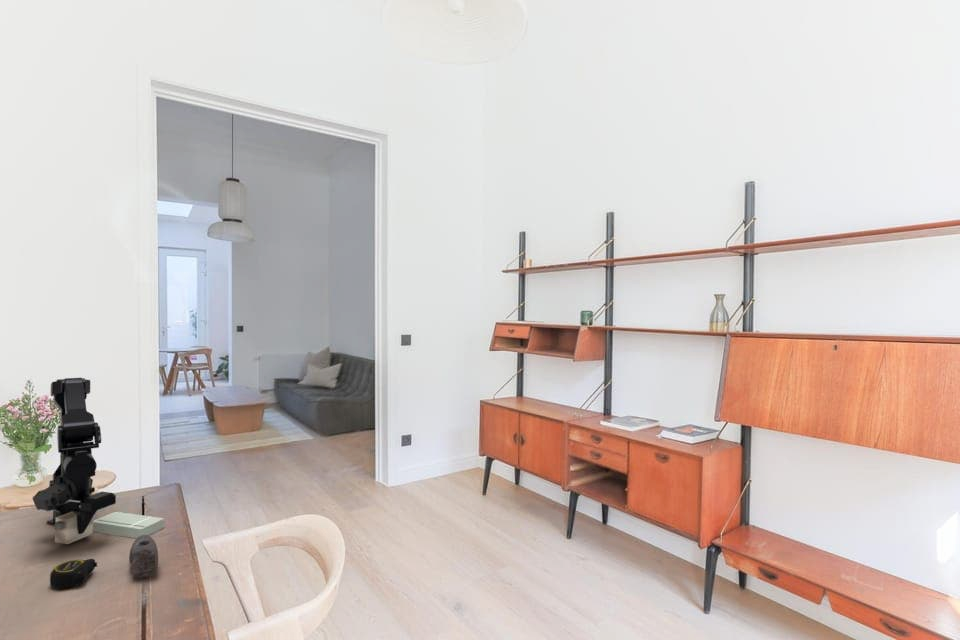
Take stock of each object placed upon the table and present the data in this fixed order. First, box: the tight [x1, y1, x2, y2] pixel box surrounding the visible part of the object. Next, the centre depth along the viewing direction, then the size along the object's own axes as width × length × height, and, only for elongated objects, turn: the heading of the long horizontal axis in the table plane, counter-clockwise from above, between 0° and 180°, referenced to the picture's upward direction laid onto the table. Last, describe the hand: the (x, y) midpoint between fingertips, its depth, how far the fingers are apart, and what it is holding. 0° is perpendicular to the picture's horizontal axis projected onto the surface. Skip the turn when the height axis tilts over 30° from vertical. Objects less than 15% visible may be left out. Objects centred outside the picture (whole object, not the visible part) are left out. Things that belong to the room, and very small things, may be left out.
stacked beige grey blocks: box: [54, 512, 94, 545], centre depth 121 cm, size 4×8×6 cm, turn 168°
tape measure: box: [49, 558, 98, 589], centre depth 103 cm, size 7×7×4 cm
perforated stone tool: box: [128, 535, 159, 579], centre depth 110 cm, size 15×5×7 cm, turn 36°
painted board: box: [92, 511, 165, 539], centre depth 129 cm, size 16×7×3 cm, turn 78°
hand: (74, 532), depth 121 cm, fingers closed on stacked beige grey blocks, 4 cm apart
